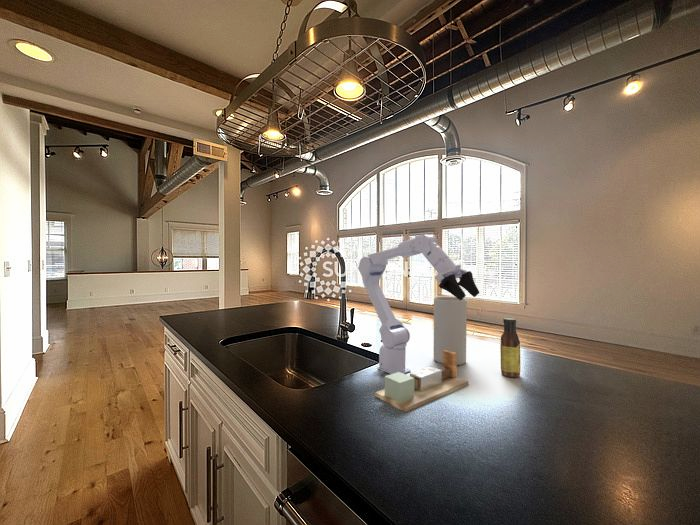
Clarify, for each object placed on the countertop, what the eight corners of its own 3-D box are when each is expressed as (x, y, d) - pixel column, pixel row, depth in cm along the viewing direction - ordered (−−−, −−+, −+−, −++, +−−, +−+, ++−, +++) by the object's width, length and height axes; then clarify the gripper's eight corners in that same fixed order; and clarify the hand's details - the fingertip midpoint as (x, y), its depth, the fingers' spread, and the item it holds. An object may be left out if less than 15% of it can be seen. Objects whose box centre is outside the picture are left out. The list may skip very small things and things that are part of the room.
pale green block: (384, 394, 89) (384, 376, 89) (398, 389, 93) (399, 371, 93) (399, 402, 84) (399, 382, 84) (414, 396, 88) (414, 377, 88)
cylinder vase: (427, 357, 128) (428, 297, 128) (453, 354, 131) (453, 296, 131) (445, 367, 116) (446, 301, 116) (473, 364, 120) (473, 300, 119)
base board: (374, 396, 91) (375, 392, 91) (437, 373, 109) (437, 370, 109) (405, 412, 81) (405, 407, 81) (468, 384, 100) (468, 381, 100)
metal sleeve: (409, 387, 94) (409, 373, 94) (430, 379, 101) (430, 366, 101) (421, 392, 91) (421, 377, 91) (441, 384, 97) (441, 370, 97)
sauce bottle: (524, 378, 105) (524, 320, 105) (505, 378, 105) (506, 320, 105) (514, 371, 112) (514, 317, 112) (496, 371, 112) (497, 317, 112)
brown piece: (408, 387, 94) (408, 360, 94) (446, 373, 106) (446, 349, 106) (418, 391, 91) (418, 364, 90) (456, 376, 102) (456, 352, 102)
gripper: (435, 255, 91) (465, 290, 84) (462, 253, 100) (491, 285, 93) (422, 271, 95) (449, 306, 88) (449, 268, 104) (476, 299, 97)
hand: (470, 296), depth 91 cm, fingers open, 7 cm apart
